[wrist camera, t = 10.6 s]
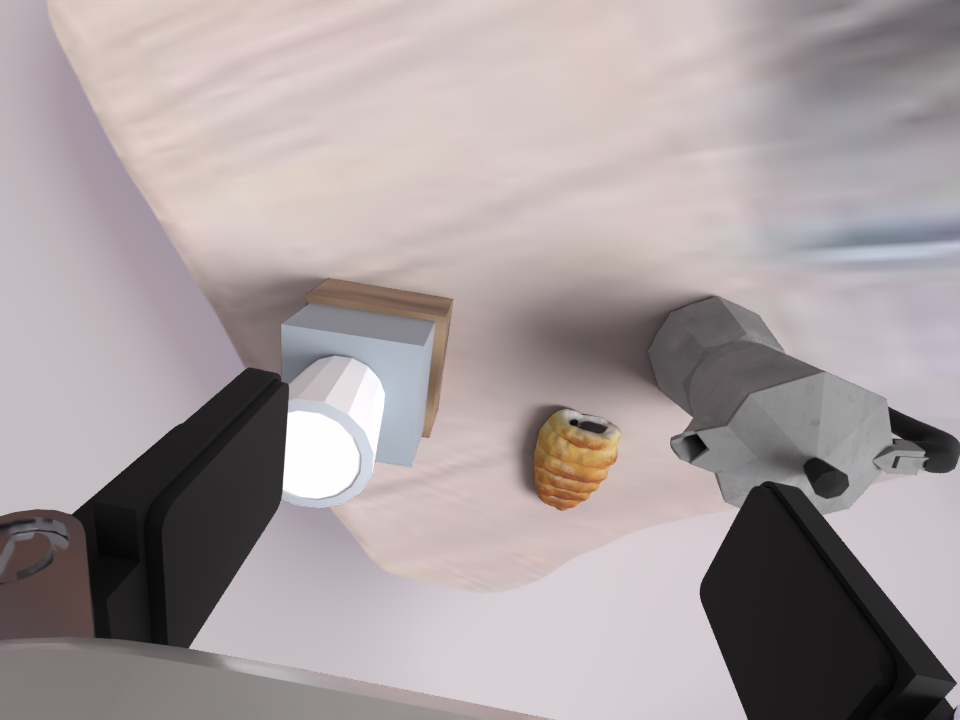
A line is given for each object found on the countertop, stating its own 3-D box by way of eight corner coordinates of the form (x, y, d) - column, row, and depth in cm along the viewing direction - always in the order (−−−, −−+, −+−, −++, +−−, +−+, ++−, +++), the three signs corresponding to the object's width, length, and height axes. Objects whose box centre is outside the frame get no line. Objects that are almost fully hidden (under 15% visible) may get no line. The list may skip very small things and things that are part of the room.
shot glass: (407, 366, 33) (389, 423, 26) (378, 452, 35) (355, 523, 29) (300, 331, 32) (254, 382, 25) (279, 422, 34) (232, 489, 28)
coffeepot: (615, 401, 43) (677, 557, 27) (628, 291, 40) (709, 392, 23) (805, 408, 42) (991, 575, 26) (835, 297, 39) (1076, 406, 22)
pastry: (587, 505, 48) (593, 533, 44) (517, 487, 47) (517, 514, 44) (623, 419, 44) (632, 442, 41) (547, 399, 44) (549, 420, 40)
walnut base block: (329, 277, 41) (306, 293, 36) (453, 298, 41) (445, 317, 36) (325, 389, 45) (303, 416, 40) (438, 408, 45) (429, 437, 40)
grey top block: (310, 302, 37) (281, 324, 32) (435, 321, 37) (423, 346, 32) (309, 413, 40) (282, 447, 35) (423, 430, 40) (411, 467, 35)
